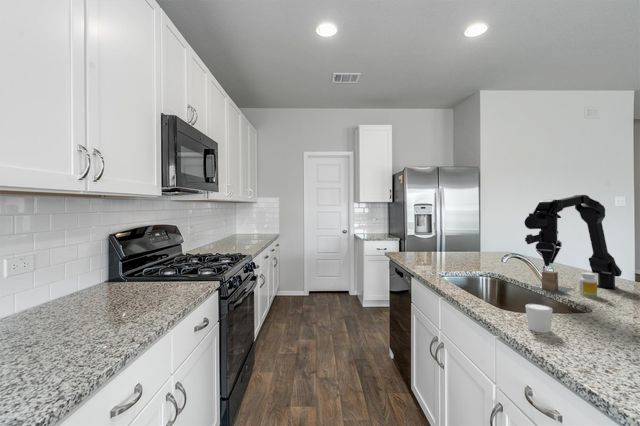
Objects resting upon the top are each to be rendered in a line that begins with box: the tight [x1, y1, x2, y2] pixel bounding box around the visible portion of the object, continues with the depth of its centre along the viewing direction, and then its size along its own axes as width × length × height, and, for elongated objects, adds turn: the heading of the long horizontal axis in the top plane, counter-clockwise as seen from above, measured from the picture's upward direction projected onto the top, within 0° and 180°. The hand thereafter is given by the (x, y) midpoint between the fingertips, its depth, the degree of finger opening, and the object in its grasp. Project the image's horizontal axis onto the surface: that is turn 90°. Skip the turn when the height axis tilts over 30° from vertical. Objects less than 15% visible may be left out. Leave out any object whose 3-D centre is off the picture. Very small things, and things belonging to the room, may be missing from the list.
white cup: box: [525, 303, 553, 334], centre depth 92 cm, size 7×7×7 cm
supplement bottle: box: [579, 272, 598, 298], centre depth 124 cm, size 5×5×10 cm
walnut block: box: [541, 270, 559, 292], centre depth 134 cm, size 4×4×8 cm
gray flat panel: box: [532, 285, 575, 295], centre depth 136 cm, size 14×12×1 cm
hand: (549, 264), depth 128 cm, fingers open, 9 cm apart
